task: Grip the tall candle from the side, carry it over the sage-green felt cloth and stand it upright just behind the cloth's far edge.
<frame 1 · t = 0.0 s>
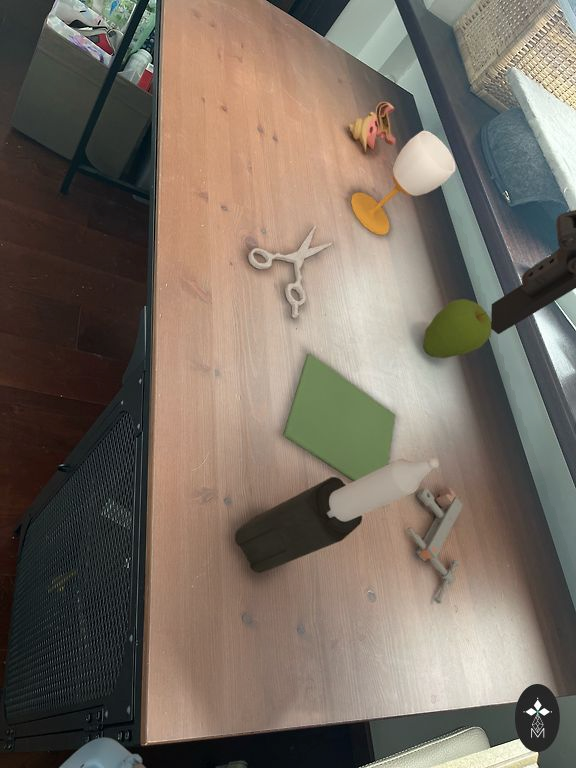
hand: (554, 370, 47), 34 cm above the table, tool pointing down, fingers open, 13 cm apart
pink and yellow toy: (364, 143, 121), on the table
candle: (258, 544, 65), on the table
green rounded fruit: (427, 349, 102), on the table
scissors: (296, 260, 91), on the table
cloth: (343, 424, 81), on the table
cup: (369, 214, 110), on the table
clamp: (428, 538, 82), on the table
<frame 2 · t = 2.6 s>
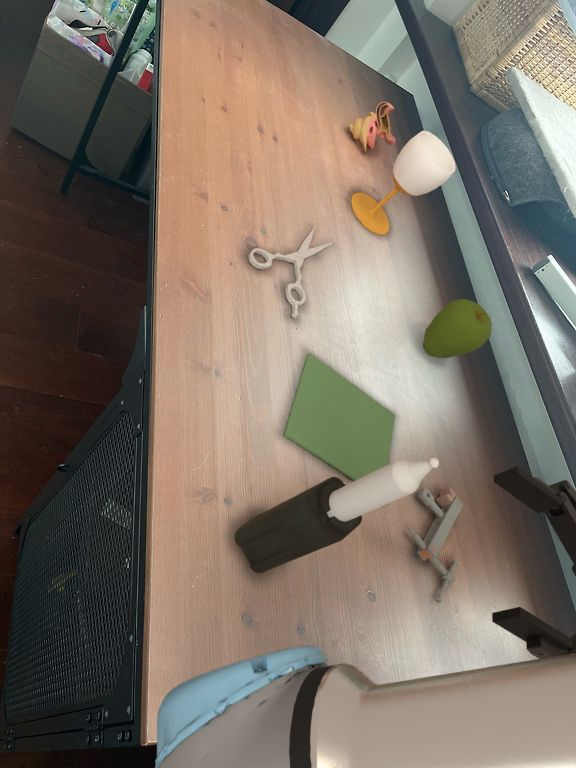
hand: (505, 538, 54), 22 cm above the table, tool horizontal, fingers open, 13 cm apart
nothing on the table moved.
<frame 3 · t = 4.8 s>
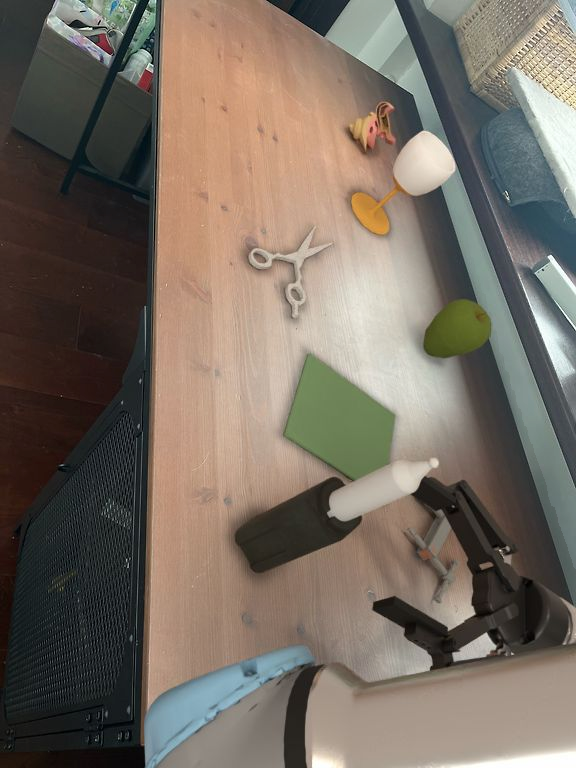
hand: (392, 533, 57), 14 cm above the table, tool horizontal, fingers open, 13 cm apart
nothing on the table moved.
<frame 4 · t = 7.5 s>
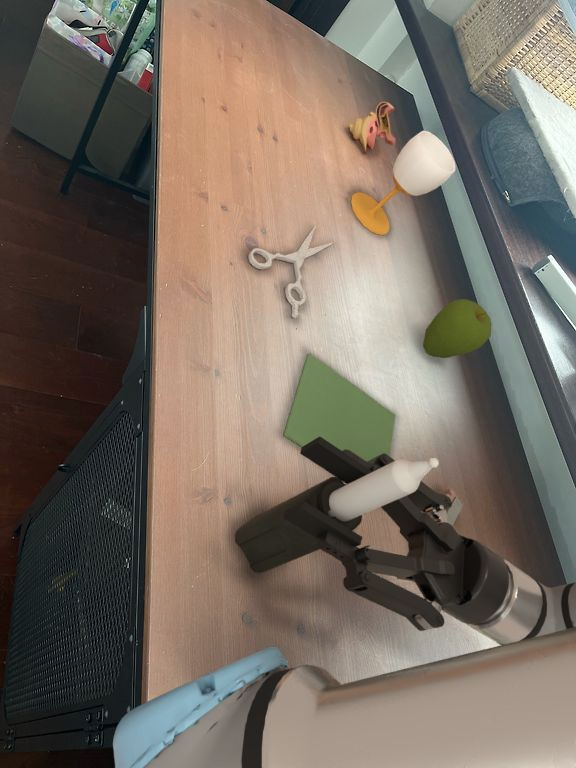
hand: (302, 476, 54), 14 cm above the table, tool horizontal, fingers closed on candle, 6 cm apart
candle: (258, 544, 65), on the table, touching gripper
everything else where it was.
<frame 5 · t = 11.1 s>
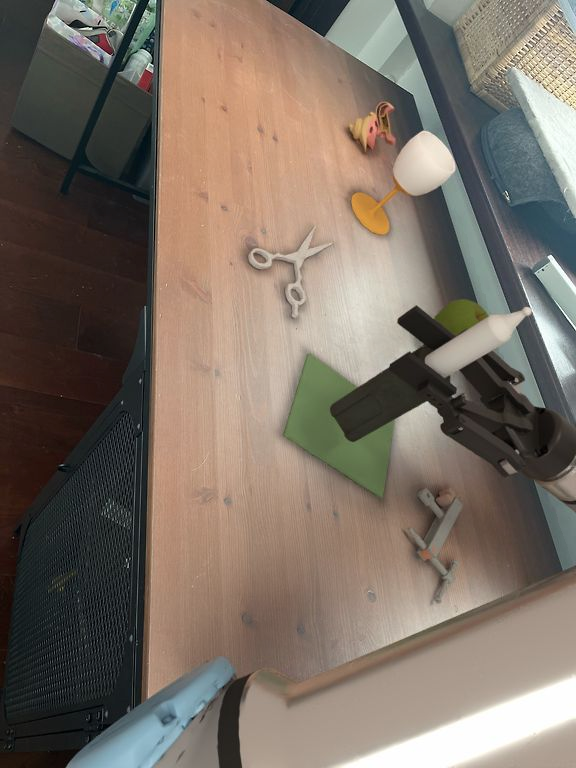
hand: (403, 336, 62), 20 cm above the table, tool horizontal, fingers closed on candle, 6 cm apart
candle: (349, 419, 73), point 6 cm above the table, touching gripper
everything else where it was.
when the fingers open (14 cm above the table, at t = 15.2 s): candle stays where it is, on the table.
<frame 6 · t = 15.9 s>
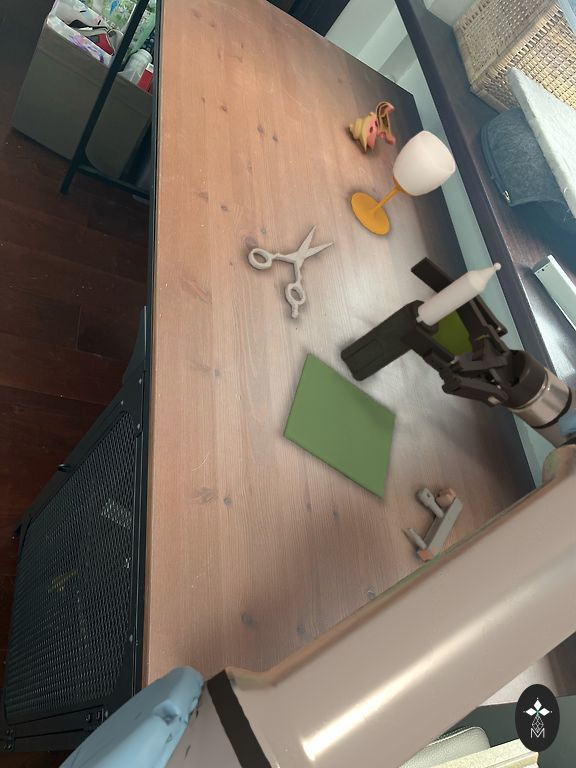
hand: (413, 296, 78), 14 cm above the table, tool horizontal, fingers open, 13 cm apart
candle: (356, 363, 89), on the table
everything else where it was.
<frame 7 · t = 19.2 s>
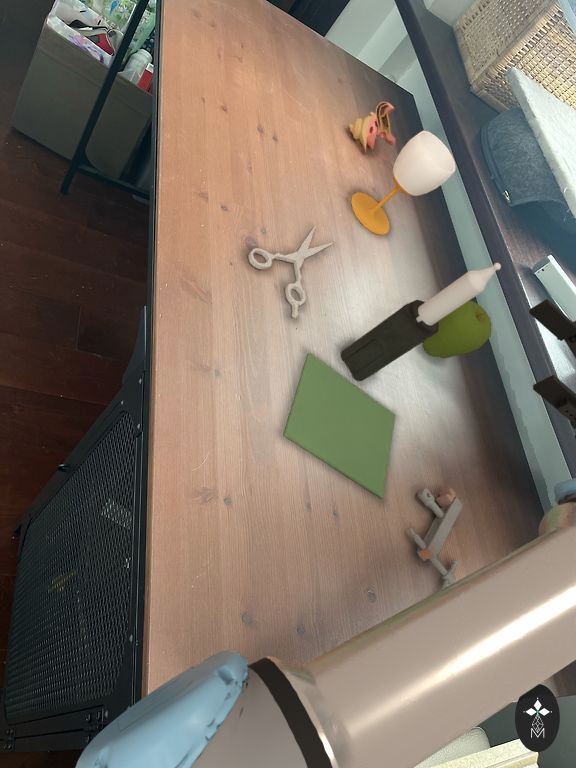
hand: (540, 341, 75), 22 cm above the table, tool horizontal, fingers open, 13 cm apart
nothing on the table moved.
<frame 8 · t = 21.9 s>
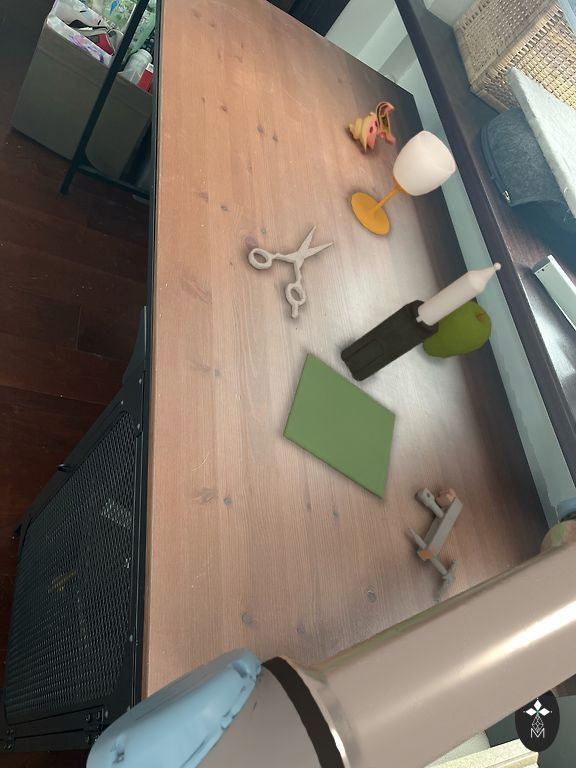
nothing on the table moved.
at the end: candle inside the target area on the table beside the cloth (1.0 cm from its centre), on the table; candle tilted 0°; candle touching table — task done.
